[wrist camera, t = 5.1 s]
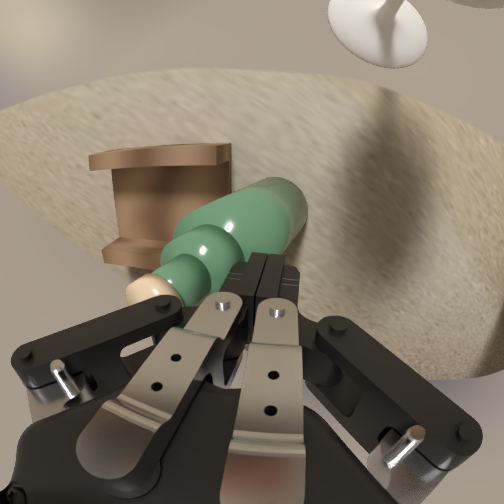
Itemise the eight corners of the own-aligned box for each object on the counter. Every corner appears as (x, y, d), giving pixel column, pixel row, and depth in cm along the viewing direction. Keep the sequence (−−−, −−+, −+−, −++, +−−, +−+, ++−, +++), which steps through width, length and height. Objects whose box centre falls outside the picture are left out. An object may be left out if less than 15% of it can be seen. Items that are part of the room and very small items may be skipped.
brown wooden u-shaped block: (231, 143, 21) (216, 145, 18) (231, 258, 26) (219, 278, 22) (113, 149, 23) (88, 155, 20) (124, 247, 28) (104, 262, 24)
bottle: (310, 180, 20) (198, 263, 8) (304, 243, 23) (211, 380, 10) (247, 174, 22) (92, 236, 10) (246, 233, 24) (119, 337, 12)
